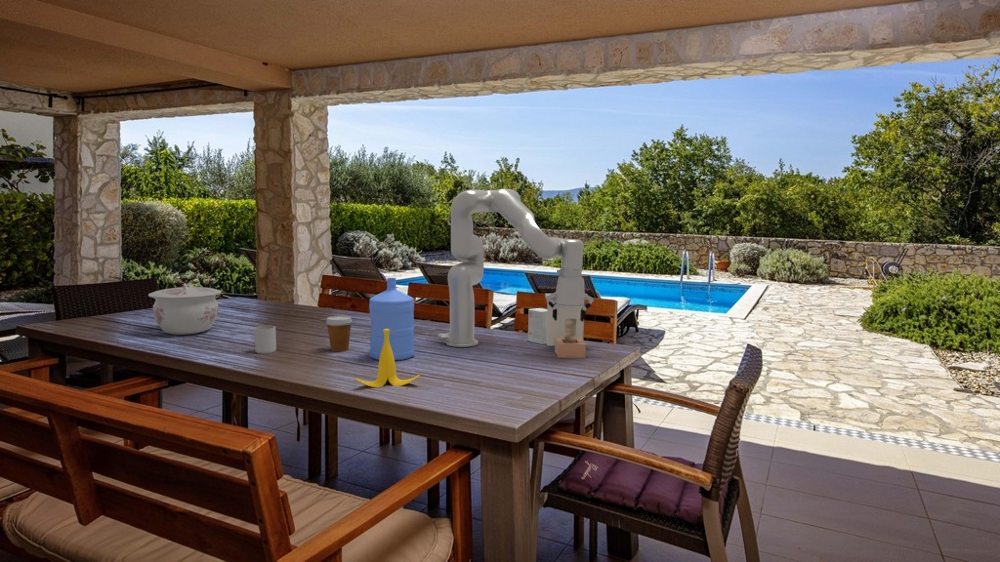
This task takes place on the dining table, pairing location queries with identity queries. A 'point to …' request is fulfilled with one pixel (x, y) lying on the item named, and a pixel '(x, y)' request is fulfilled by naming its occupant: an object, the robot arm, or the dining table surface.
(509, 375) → the dining table surface
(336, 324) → the disposable coffee cup
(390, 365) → the banana peel
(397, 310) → the water jug
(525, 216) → the robot arm
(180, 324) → the chamber pot
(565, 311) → the lidded rectangular box
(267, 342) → the cup
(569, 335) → the peg
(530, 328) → the small box
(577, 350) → the socket
